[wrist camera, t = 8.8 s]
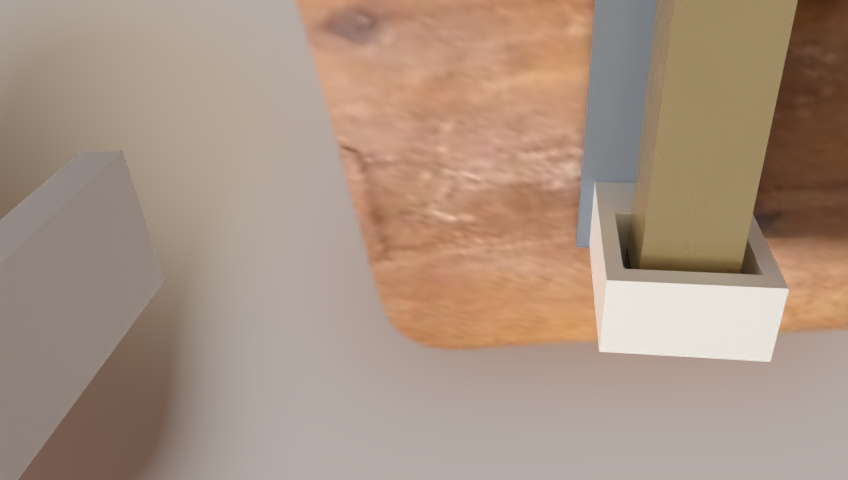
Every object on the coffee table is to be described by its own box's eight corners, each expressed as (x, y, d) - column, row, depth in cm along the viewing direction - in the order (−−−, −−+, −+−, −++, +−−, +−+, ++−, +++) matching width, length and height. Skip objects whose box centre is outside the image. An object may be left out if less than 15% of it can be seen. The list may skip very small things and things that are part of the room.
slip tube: (669, -116, 31) (686, -102, 27) (786, -119, 30) (822, -105, 26) (624, 261, 40) (632, 312, 36) (714, 265, 39) (732, 317, 35)
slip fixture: (619, -314, 31) (649, -355, 22) (851, -327, 30) (984, -376, 21) (576, 238, 45) (583, 354, 36) (735, 244, 44) (785, 367, 35)
